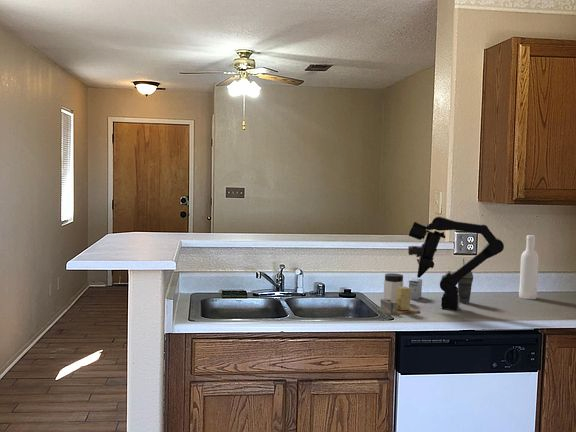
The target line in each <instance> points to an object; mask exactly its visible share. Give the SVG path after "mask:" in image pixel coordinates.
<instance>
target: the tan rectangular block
mask: <svg viewBox="0 0 576 432" xmlns="http://www.w3.org/2000/svg"><path fill="white" fill-rule="evenodd" d="M410 291H411V288H409V286H404V285H403V287H396V300H395V302H397V303H398V304H397V310H398V309H399V310H410V307H411V299H410Z"/></svg>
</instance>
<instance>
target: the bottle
mask: <svg viewBox="0 0 576 432" xmlns="http://www.w3.org/2000/svg"><path fill="white" fill-rule="evenodd" d="M525 240H526V244H525V245H526V246H525V250H524V251H523V252H522V254H521V255H520V272H519V291H518V297H519V299H525V300H536V299H537V295H538V278H539V276H538V275H539V262H540V261H539V257H540V256H539V255H538V253H537V251H536V250H535V246H536V245H535V243H536V235H533V234H528V235H526V237H525Z"/></svg>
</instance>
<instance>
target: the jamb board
mask: <svg viewBox="0 0 576 432" xmlns="http://www.w3.org/2000/svg"><path fill="white" fill-rule="evenodd" d="M397 304H398V303H397V302H391V300H390V299H384V298H381V299H380V306H379V307H380V309H379V311H380V312H383V313H385V314H387V315H389V316H390V315H406V314H420V313H421V310H419V309H417V308H415V307H412V306H410V310H399V309H398V310H397Z"/></svg>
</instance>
